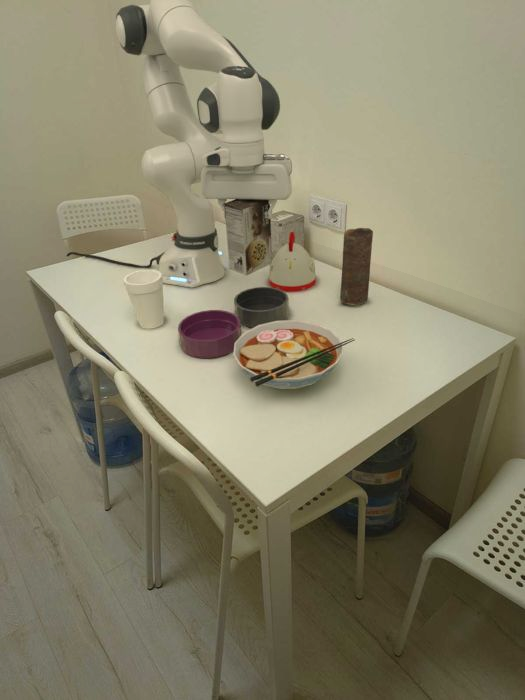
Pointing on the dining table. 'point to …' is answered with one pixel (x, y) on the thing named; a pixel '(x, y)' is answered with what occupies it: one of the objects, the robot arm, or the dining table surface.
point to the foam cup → (146, 296)
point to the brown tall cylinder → (356, 265)
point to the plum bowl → (209, 333)
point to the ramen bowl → (288, 353)
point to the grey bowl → (261, 306)
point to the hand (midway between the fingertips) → (248, 217)
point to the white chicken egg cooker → (292, 268)
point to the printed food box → (248, 235)
